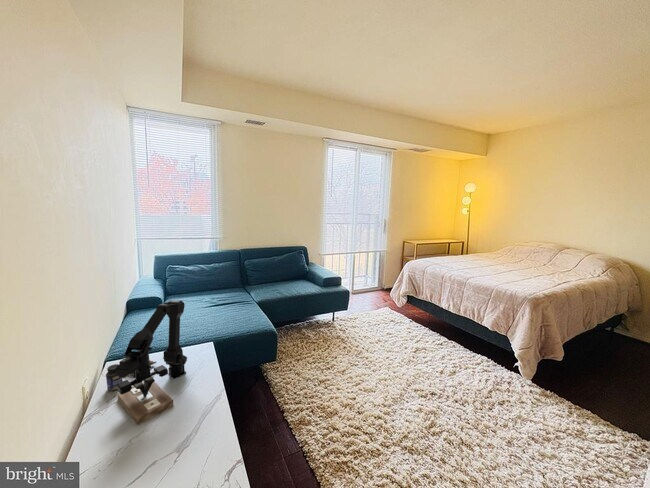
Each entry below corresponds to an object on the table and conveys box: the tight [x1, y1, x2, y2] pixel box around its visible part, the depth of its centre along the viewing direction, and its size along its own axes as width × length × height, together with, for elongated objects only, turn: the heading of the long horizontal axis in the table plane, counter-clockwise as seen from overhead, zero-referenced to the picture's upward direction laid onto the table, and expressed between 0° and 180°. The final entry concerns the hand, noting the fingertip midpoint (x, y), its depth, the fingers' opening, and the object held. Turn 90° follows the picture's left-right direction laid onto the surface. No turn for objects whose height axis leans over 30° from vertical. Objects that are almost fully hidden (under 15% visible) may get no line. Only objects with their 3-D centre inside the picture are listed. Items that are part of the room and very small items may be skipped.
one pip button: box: [143, 399, 161, 411], centre depth 121 cm, size 5×5×3 cm
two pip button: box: [130, 388, 141, 395], centre depth 131 cm, size 5×5×3 cm
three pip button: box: [137, 392, 153, 403], centre depth 126 cm, size 5×5×3 cm
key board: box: [117, 381, 175, 426], centre depth 126 cm, size 14×24×3 cm, turn 52°
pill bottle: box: [105, 363, 124, 392], centre depth 136 cm, size 6×6×11 cm
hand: (145, 396), depth 126 cm, fingers closed, pressing on three pip button
